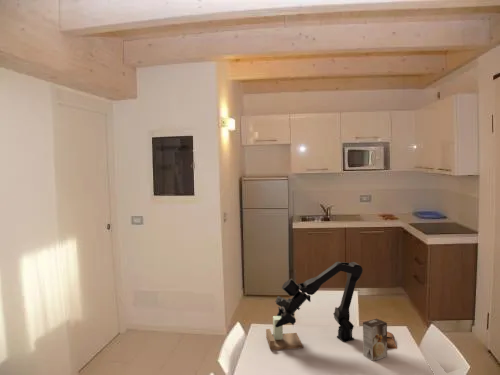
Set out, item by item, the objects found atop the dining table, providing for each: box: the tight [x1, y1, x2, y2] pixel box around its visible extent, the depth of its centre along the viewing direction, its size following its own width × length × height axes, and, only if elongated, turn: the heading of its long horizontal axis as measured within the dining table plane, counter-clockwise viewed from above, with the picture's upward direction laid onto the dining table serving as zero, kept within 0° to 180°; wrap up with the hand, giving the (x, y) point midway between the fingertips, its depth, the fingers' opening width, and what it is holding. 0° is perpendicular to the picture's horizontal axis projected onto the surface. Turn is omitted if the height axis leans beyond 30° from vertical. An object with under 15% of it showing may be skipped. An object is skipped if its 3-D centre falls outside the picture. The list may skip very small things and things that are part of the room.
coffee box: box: [362, 318, 388, 362], centre depth 179 cm, size 9×6×16 cm
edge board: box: [265, 328, 304, 351], centre depth 196 cm, size 16×14×4 cm
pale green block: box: [272, 315, 284, 340], centre depth 195 cm, size 4×5×10 cm
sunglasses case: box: [387, 331, 398, 350], centre depth 196 cm, size 18×7×7 cm
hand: (275, 324), depth 195 cm, fingers closed on pale green block, 5 cm apart
